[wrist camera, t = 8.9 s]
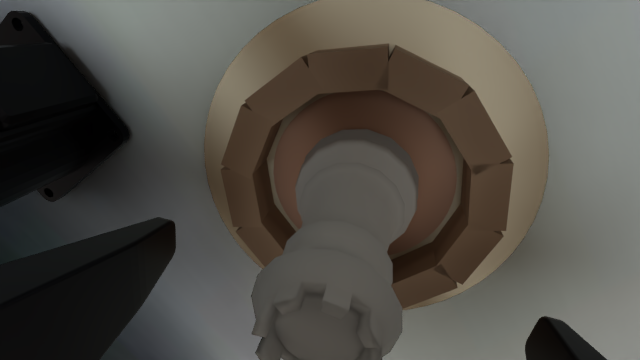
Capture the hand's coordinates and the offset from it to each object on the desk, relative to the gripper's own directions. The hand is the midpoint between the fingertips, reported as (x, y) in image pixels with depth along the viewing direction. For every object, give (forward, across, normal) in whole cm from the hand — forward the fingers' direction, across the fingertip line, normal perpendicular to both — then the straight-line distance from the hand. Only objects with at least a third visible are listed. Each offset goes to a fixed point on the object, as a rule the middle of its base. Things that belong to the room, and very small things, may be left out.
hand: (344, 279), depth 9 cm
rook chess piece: (+6, 0, 0) cm, 6 cm away
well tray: (+7, 0, 0) cm, 7 cm away
